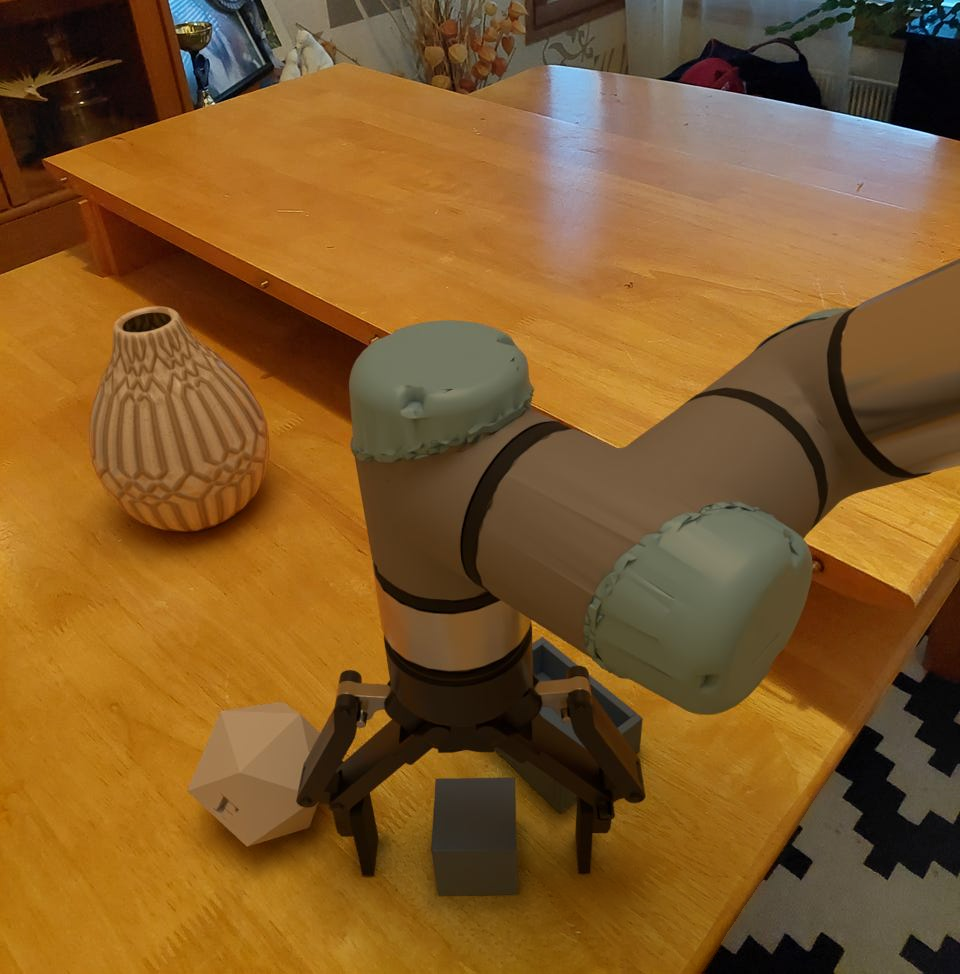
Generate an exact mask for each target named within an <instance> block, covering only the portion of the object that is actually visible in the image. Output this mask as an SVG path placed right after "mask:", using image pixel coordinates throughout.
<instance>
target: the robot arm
mask: <svg viewBox="0 0 960 974" xmlns="http://www.w3.org/2000/svg"><path fill="white" fill-rule="evenodd" d="M528 362H529V361H528V358H527V356H526V354H525V353H524V352H523V351H522V350H521V349H520V348H519V347H518V345H516V343H515V342H514V340H513V338H512V336H510V335H508V333H505V332H503V331H502V330H499V329H498V328H495V327H493V326H489V325H487V324H484V323H479V322H475V321H474V322H473V321H468V320H467V321H465V320H454V319H445V320H444V319H443V320H431V321H424V322H420V323H415V324H410V325H406V326H404V327H400V328H398V329H396V330H394V332H391V333H390V334H388V335H386V336H384V337H380V338H378V339H376V340H374V341H373V342H371V343H370V344H369V345H368V346H367V347H366V348H364V350H363V351H362V352H361V353H360V355H358V357H357V358H356V360H355V361H354V363H353V365H352V368H351V370H350V374H349V382H348V392H349V403H350V404H349V405H350V416H351V430H352V437H351V439H350V444H349V445H350V446H349V447H350V450H351V453H352V454H353V457H354V462H355V467H356V468H355V469H356V473H357V479H358V485H359V491H360V497H361V503H362V508H363V513H364V514H363V515H364V521H365V526H366V530H367V537H368V543H369V549H370V556H371V561H372V570H373V577H374V583H375V590H376V599H377V604H378V605H377V606H378V611H379V612H378V613H379V619H380V627H381V629H382V632H383V643H384V651H385V656H386V657H385V658H386V663H387V664H386V665H387V669H388V676H389V680H388V682H387V683H386V684H382V683H381V684H380V683H366V682H363V678H362V675H361V673H360V672H358V671H356V670H353V669H346V670H344V671H341V673H340V675H339V679H338V685H337V689H336V690H337V691H336V696H335V702H334V707H333V709H332V711H331V713H330V715H329V716H328V718H327V719H326V723H325V724H324V726H323V728H322V729H321V731H320V735H319V737H318V739H317V740H316V742H315V744H314V746H313V748H312V750H311V751H310V753H309V755H308V757H307V759H306V761H305V762H304V764H303V769H302V773H301V779H300V784H299V789H298V795H297V800H296V802H297V804H298V805H300V806H302V807H306V808H310V807H314V806H315V805H316V804H317V802H319V803H320V804H324V805H326V806H327V807H328V810H329V811H330V812H332V816H333V821H334V825H335V829H336V833H337V834H338V835H339V836H340V837H341V838H352V837H353V840H354V844H355V850H356V854H357V858H358V863H359V868H360V872H361V876H362V877H374V876H375V871H376V864H377V863H376V861H377V853H378V843H379V832H378V828H377V822H376V817H375V811H374V806H373V801H372V796H371V792H373V791H374V790H375V789H376V788H377V787H379V786H380V785H381V784H382V783H384V782H385V781H386V780H387V779H388V778H389V777H391V776H392V775H393V774H395V772H397V771H398V770H399V769H401V768H402V767H403V766H404V765H405V764H406V765H408V766H412V765H414V764H415V763H416V762H418V761H419V760H420V759H421V758H422V757H424V756H425V755H426V754H427V753H429V752H430V751H431V750H432V749H435V750H437V751H438V754H453V753H458V752H463V751H469V752H476V753H495V750H494V748H499V749H500V750H502V751H503V752H505V753H506V754H508V755H509V756H510V757H512V758H513V759H515V760H516V761H518V762H519V763H521V764H522V763H525V762H527V761H528V762H530V763H531V764H533V765H534V766H536V767H537V768H538V769H540V770H541V771H543V772H544V773H546V774H547V775H548V776H550V777H551V778H553V779H554V780H556V781H557V782H558V783H560V784H561V785H563V786H564V787H566V788H567V789H568V790H570V791H571V792H573V793H574V794H575V795H577V801H576V807H575V808H576V809H575V834H574V835H575V849H576V860H577V861H576V862H577V874H578V875H590V874H591V871H592V869H591V867H592V854H593V853H592V849H593V835H594V834H595V835H596V834H608V833H609V831H611V829H612V828H611V827H612V826H611V825H612V821H613V820H614V819H615V817H616V812H615V803H616V802H617V801H619V800H622V799H624V800H625V801H626V802H627V803H630V804H638V803H641V802H643V801H644V800H645V799H646V790H645V784H644V776H643V769H642V763H641V762H642V761H641V759H640V758H639V756H638V755H637V753H635V752H634V751H633V749H632V748H631V746H630V745H629V744H628V742H627V741H626V740H625V738H624V737H623V735H622V734H621V733H620V731H619V730H618V728H617V727H616V726H615V724H614V723H613V722H612V720H611V719H610V717H609V716H608V715H607V713H606V712H605V710H604V709H603V708H602V706H601V705H600V704H599V702H598V701H597V699H596V698H595V697H594V695H593V694H592V693H591V688H590V680H589V675H590V672H589V669H588V668H587V667H585V666H583V665H578V666H572V667H570V668H569V669H568V670H567V679H562V680H551V681H539V679H538V678H537V677H536V676H535V675H534V673H533V658H532V643H533V624H532V622H533V623H536V624H537V625H539V626H540V627H541V628H544V629H545V630H546V631H548V632H549V633H551V634H553V635H554V636H556V637H557V638H558V639H560V640H562V641H564V642H565V643H567V644H569V645H570V646H571V647H573V648H574V649H576V650H578V651H579V652H580V653H583V654H584V655H586V656H587V657H589V658H590V659H591V660H592V661H593V662H594V663H596V664H597V665H598V666H599V667H600V669H601V670H604V671H606V672H608V674H612V675H614V676H616V677H617V678H619V679H624V680H630V681H632V682H634V683H636V684H638V685H639V686H641V687H643V688H645V689H646V690H648V691H650V692H652V693H653V694H656V695H658V697H661V698H663V699H664V700H666V701H668V702H670V703H672V704H674V705H675V706H677V707H679V708H681V709H682V710H684V711H686V712H689V713H692V714H695V715H701V716H702V715H703V716H712V715H713V716H714V715H718V714H721V713H725V712H727V711H729V710H731V709H733V708H735V707H737V706H738V705H740V704H741V703H742V702H743V701H744V700H746V699H747V698H748V697H750V695H751V694H752V693H753V692H754V691H756V689H757V688H758V687H759V686H760V685H761V683H762V682H763V681H764V679H765V678H766V677H767V676H768V674H769V672H770V670H771V668H772V666H773V663H774V662H775V661H776V658H777V657H778V656H779V654H781V652H783V651H784V649H785V647H786V646H787V644H788V643H789V642H790V639H791V636H792V635H793V634H794V631H795V629H796V626H797V625H798V622H799V620H800V617H801V615H802V613H803V611H804V608H805V605H806V602H807V599H808V595H809V592H810V589H811V588H810V587H811V584H812V578H813V568H814V565H813V557H812V553H811V549H810V546H809V545H808V543H807V541H806V540H805V538H806V537H807V535H808V534H809V533H811V531H812V530H813V529H814V528H815V527H816V526H817V525H818V524H819V523H820V522H821V521H822V520H823V519H824V518H825V517H826V516H827V515H828V514H829V513H830V512H831V511H832V510H834V508H835V507H836V506H838V505H839V504H840V502H842V501H844V500H845V499H847V498H849V497H851V496H853V495H856V494H860V493H862V492H865V491H866V492H867V491H869V490H870V491H871V490H873V489H874V490H875V489H878V488H881V487H886V486H890V485H894V484H898V483H902V482H905V481H909V480H913V479H917V478H921V477H924V476H927V475H931V474H932V473H936V472H939V471H943V470H948V469H951V468H955V467H960V258H958V259H956V260H953V261H951V262H949V263H946V264H944V265H942V266H940V267H938V268H935V269H933V270H931V271H929V272H927V273H924V274H922V275H920V276H918V277H915V278H913V279H911V280H909V281H906V282H904V283H902V284H899V285H897V286H895V287H893V288H891V289H888V290H887V291H884V292H881V293H879V294H877V295H875V296H873V297H871V298H869V299H867V300H864V301H861V302H860V303H859V304H858V305H857V306H854V307H852V308H850V307H849V308H848V307H844V308H843V307H841V308H837V307H836V308H835V307H834V308H827V309H823V310H818V311H815V312H814V313H811V314H808V315H807V316H805V317H803V318H801V319H800V320H799V319H798V320H797V321H795V322H792V323H790V324H789V325H787V326H784V327H783V328H781V329H779V330H778V331H776V332H774V333H772V334H770V335H769V336H768V337H766V338H765V339H763V340H762V341H761V342H760V343H759V344H758V345H757V346H756V347H755V349H754V350H753V351H752V352H751V353H750V354H748V356H747V357H745V358H744V359H743V360H741V361H740V362H738V363H737V364H736V365H734V366H733V367H732V368H731V369H729V370H728V371H727V372H726V373H724V374H723V375H721V376H720V377H719V378H717V379H716V380H715V381H714V382H712V383H711V384H710V385H708V386H706V388H704V389H702V391H700V392H699V393H697V394H695V395H694V396H692V397H691V398H690V399H688V400H687V401H685V402H684V403H683V404H682V405H681V406H679V407H677V409H675V410H674V411H672V412H671V413H670V414H668V415H667V416H666V417H664V418H663V419H661V420H660V421H659V422H657V423H656V424H654V425H653V426H652V427H650V428H648V430H646V431H644V432H643V433H642V434H640V435H639V436H638V437H637V438H635V439H634V440H633V441H631V442H630V443H628V444H627V445H625V446H624V447H616V446H614V445H611V444H609V443H607V442H605V441H602V440H600V439H598V438H596V437H594V436H592V435H589V434H587V433H585V432H583V431H580V430H577V429H576V428H573V427H571V426H568V425H565V424H564V423H562V422H561V421H558V420H557V419H554V418H551V417H549V416H547V415H545V414H542V413H540V412H538V411H536V410H535V409H534V408H533V406H532V404H531V403H532V402H533V397H534V392H535V388H534V386H533V384H532V382H531V381H530V372H529V370H530V369H529V363H528ZM542 707H550V708H552V709H554V710H555V712H556V713H557V715H559V716H561V718H562V723H564V724H572V728H573V730H574V733H575V735H576V736H577V738H578V739H579V740H580V742H581V743H582V744H583V746H584V747H585V748H586V749H585V748H584V747H582V746H581V745H580V744H578V743H577V742H576V741H574V740H573V739H572V738H570V737H569V736H568V735H566V734H565V733H564V732H562V731H561V730H560V729H558V728H557V727H555V726H554V725H553V724H551V723H550V722H549V721H547V720H546V719H545V718H543V717H542V716H541V714H540V711H541V709H542ZM383 710H384V711H385V713H386V715H387V716H388V717H389V718H390V720H389V721H388V722H387V723H386V724H385V725H384V726H383V727H381V729H379V730H378V731H377V732H376V733H375V734H374V735H372V736H371V737H370V738H369V739H368V740H367V741H366V742H364V743H363V744H362V745H361V746H360V747H358V749H356V751H354V752H353V753H352V754H351V755H350V756H348V757H347V759H345V760H344V758H345V756H346V754H347V752H348V751H349V750H350V747H351V746H352V744H353V742H354V740H355V739H356V735H357V729H363V728H365V727H366V726H367V721H369V720H371V719H372V718H373V716H374V714H375V713H376V712H379V711H383ZM319 803H318V804H319Z"/></svg>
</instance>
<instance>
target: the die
mask: <svg viewBox="0 0 960 974" xmlns="http://www.w3.org/2000/svg"><path fill="white" fill-rule="evenodd" d="M320 733H321V731H319V730H318V729H317V728H316V727H315V725H313V724H312V723H311V722H309V721H308V720H307V718H306V717H304V715H302V714H301V713H300V712H298V711H297V710H295V709H294V708H292V707H291V706H289V705H288V704H286V703H285V702H283V701H277V702H269V703H264V704H258V705H257V704H256V705H250V706H244V707H237V708H230V709H229V708H228V709H223V710H220V711H219V714H218V716H217V718H216V721H215V723H214V725H213V728H212V730H211V733H210V735H209V737H208V740H207V742H206V745H205V747H204V749H203V752H202V754H201V757H200V759H199V761H198V763H197V766H196V769H195V770H194V773H193V775H192V778H191V781H190V783H189V785H188V787H187V790H186V792H187V793H188V794H189V795H191V796H192V798H194V799H195V800H196V801H197V802H198V803H199V804H200V805H201V806H202V807H203V808H204V809H205V810H206V811H208V812H209V813H210V814H211V815H212V816H213V817H214V818H215V819H216V820H218V821H219V822H220V824H222V826H224V827H225V828H226V829H227V830H228V831H229V832H230V833H231V834H233V835H234V836H235V837H236V838H237V839H238V840H239V841H240V842H241V843H242V844H243V845H244V846H246V847H247V848H248V847H250V846H255V845H257V844H261V843H264V842H267V841H271V840H273V839H277V838H280V837H284V836H287V835H290V834H293V833H296V832H300V831H303V830H306V829H310V826H311V824H312V821H313V818H314V816H315V814H316V811H317V809H318V806H319V802H317V804H316V805H315V806H314V807H310V808H306V807H302V806H300V805H298V804H297V802H296V800H297V795H298V789H299V784H300V779H301V773H302V769H303V764H304V762H305V761H306V759H307V757H308V755H309V753H310V751H311V750H312V748H313V746H314V744H315V742H316V740H317V739H318V737H319V735H320Z"/></svg>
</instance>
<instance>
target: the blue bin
mask: <svg viewBox="0 0 960 974" xmlns="http://www.w3.org/2000/svg"><path fill="white" fill-rule="evenodd" d="M532 658H533V673H534V675H535V676H536V677H537V678H538V679H539V681H551V680H562V679H567V670H568V669H569V668H570V667H572V666H579V665H578V664H577V663H576V662H574V661H573V660H572V659H571V658H570V657H568V655H566V654H565V653H563V652H562V651H561V650H560V649H559V648H557V647H556V646H555V645H553V644H552V643H551V642H550V641H549V640H547V639H546V638H545V637H544V636H541V637H539V638H537V640H535V641H533V642H532ZM589 680H590V688H591V693H592V694H593V695H594V697H595V698H596V699H597V701H598V702H599V704H600V705H601V706H602V708H603V709H604V710H605V712H606V713H607V715H608V716H609V717H610V719H611V720H612V722H613V723H614V724H615V726H616V727H617V728H618V730H619V731H620V733H621V734H622V735H623V737H624V738H625V740H626V741H627V742H628V744H629V745H630V746H631V748H632V749H633V751H634V752H635V753H636V754H638V753H639V752H640V751H641V743H642V742H641V741H642V730H643V720H644V719H643V717H642V716H641V715H640V714H639V713H637V712H636V711H635V710H634V709H632V708H631V707H630V706H629V705H627V704H626V703H625V702H624V701H623V700H622V699H620V698H619V697H618V696H616V695H615V694H614V693H613V692H612V691H610V690H609V689H608V688H606V687H605V686H604V685H603V684H602V683H601V682H599V681H598V680H597V679H595V678H594V677H593V676H592V675H591V674H589ZM540 714H541V716H542V717H543V718H545V719H546V720H547V721H549V722H550V723H551V724H553V725H554V726H555V727H557V728H558V729H560V730H561V731H562V732H564V733H565V734H566V735H568V736H569V737H570V738H572V739H573V740H574V741H576V742H577V743H578V744H580V745H581V746H582V747H584V746H583V744H582V743H581V742H580V740H579V739H578V738H577V736H576V735H575V733H574V730H573V728H572V724H564V723H562V718H561V716H559V715H557V713H556V712H555V710H554V709H552V708H550V707H542V709H541V711H540ZM584 748H585V747H584ZM585 749H586V748H585ZM494 752H496V753H497V754H499V756H500V757H502V758H503V760H505V761H506V762H507V763H508V765H510V766H511V767H512V768H513V769H514V770H515V771H516V772H517V773H518V774H519V775H520V776H521V777H522V778H523V779H524V780H525V781H526V782H527V783H528V784H529V785H530V786H531V787H532V788H533V789H534V790H535V791H536V792H537V793H538V794H539V795H540V796H541V797H542V798H543V799H544V800H545V801H547V802H548V803H549V804H550V806H552V807H553V808H554V809H555V810H556V812H558V813H559V814H562V813H563V812H564V811H566V810H567V809H568V808H570V807H571V806H572V805H573V804H574V803H577V795H575V794H574V793H573V792H571V791H570V790H568V789H567V788H566V787H564V786H563V785H561V784H560V783H558V782H557V781H556V780H554V779H553V778H551V777H550V776H548V775H547V774H546V773H544V772H543V771H541V770H540V769H538V768H537V767H536V766H534V765H533V764H531V763H530V762H528V761H527V762H525V763H522V764H521V763H519V762H518V761H516V760H515V759H513V758H512V757H510V756H509V755H508V754H506V753H505V752H503V751H502V750H500V749H499V748H494Z"/></svg>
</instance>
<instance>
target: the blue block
mask: <svg viewBox="0 0 960 974" xmlns="http://www.w3.org/2000/svg"><path fill="white" fill-rule="evenodd" d="M433 799H434V800H433V815H432V830H431V831H432V832H431V844H430V845H431V847H430V853H431V860H432V867H433V875H434V880H435V888H436V895H437V896H518V895H519V884H518V883H519V880H518V878H519V877H518V876H519V875H518V833H517V831H518V830H517V829H518V827H517V803H516V802H517V801H516V799H517V798H516V778H515V777H458V778H457V777H454V778H453V777H452V778H435V782H434V798H433Z"/></svg>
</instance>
